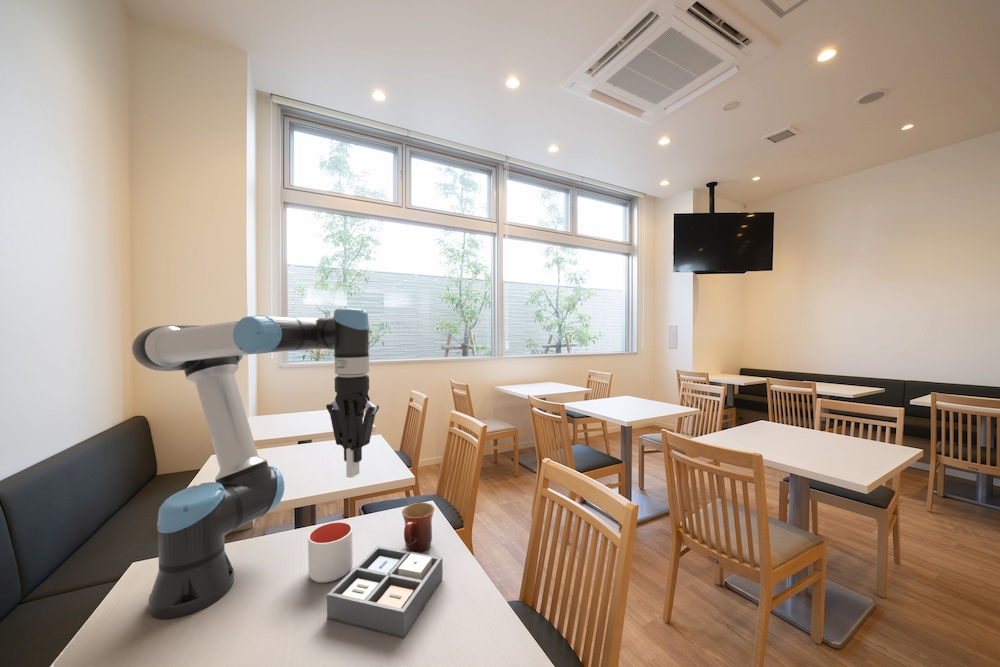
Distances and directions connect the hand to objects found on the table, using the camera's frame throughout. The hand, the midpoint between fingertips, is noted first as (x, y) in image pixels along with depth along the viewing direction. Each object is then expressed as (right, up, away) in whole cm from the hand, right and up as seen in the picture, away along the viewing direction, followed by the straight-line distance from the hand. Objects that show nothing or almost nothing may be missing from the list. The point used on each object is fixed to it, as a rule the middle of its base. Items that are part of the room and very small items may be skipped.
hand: (353, 475), depth 87 cm
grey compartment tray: (+9, -26, -3) cm, 28 cm away
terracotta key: (+12, -26, -9) cm, 30 cm away
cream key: (+15, -24, 0) cm, 28 cm away
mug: (+11, -26, +15) cm, 32 cm away
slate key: (+6, -26, +2) cm, 27 cm away
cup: (-8, -27, +6) cm, 28 cm away
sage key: (+4, -26, -6) cm, 27 cm away
